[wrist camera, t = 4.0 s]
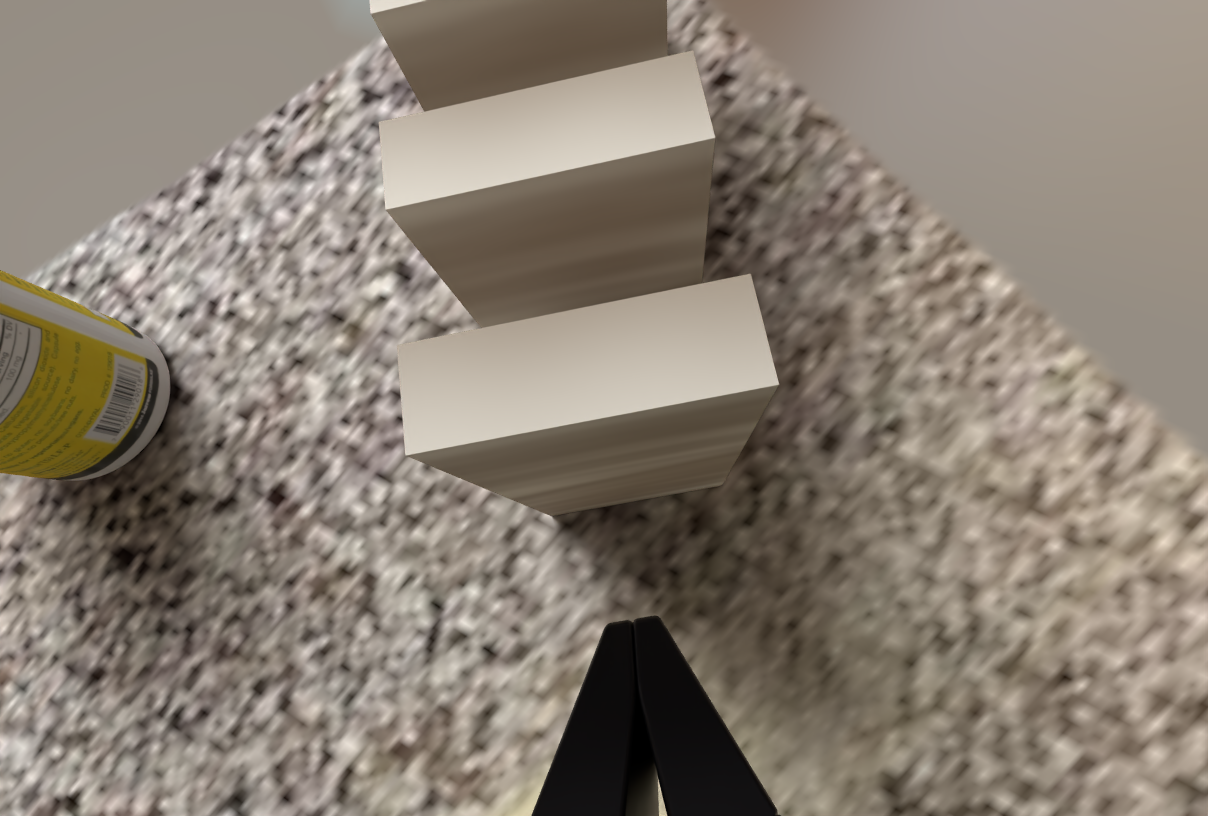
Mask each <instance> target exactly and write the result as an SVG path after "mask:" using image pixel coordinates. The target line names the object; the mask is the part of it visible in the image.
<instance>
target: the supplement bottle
mask: <svg viewBox="0 0 1208 816" xmlns="http://www.w3.org/2000/svg"><path fill="white" fill-rule="evenodd" d="M169 398H170V375H169V370H168V366H167V363H166V360H165V358H164V356H163V354H162V352H161V351H160V349H159V348H158V346H157V345H156V344H155V343H154V342H153V341H152V340H151V339H150V338H149V337H148V336H146V335H145V334H143V333H142V332H140V331H139V330H137V329H135V328H133V327H131V326H128V325H126V324H124V323H122V322H120V321H118V320H116V319H113V318H111V317H109V316H106V315H104V314H102V313H99V312H97V311H95V310H92V309H90V308H88V307H85V306H83V305H81V304H78V303H76V302H74V301H71V300H69V299H67V298H64V297H62V296H60V295H57V294H55V293H53V292H50V291H48V290H46V289H43V288H41V287H39V286H36V285H34V284H32V283H29V282H27V281H25V280H22V279H20V278H17V277H15V276H13V275H10V274H8V273H6V272H3V271H1V270H0V473H5V474H13V475H22V476H29V477H37V478H46V479H56V480H67V481H77V480H86V479H92V478H96V477H100V476H102V475H105V474H108V473H110V472H112V471H114V470H116V469H118V468H120V467H121V466H123V465H125V464H126V463H127V462H129V461H130V460H131V459H133V458H134V457H135V456H136V455H137V454H139V453H140V452H141V451H142V450H143V449H144V448H145V447H146V445H147V444H148V443H149V442H150V440H151V439H152V438H153V436H154V435H155V433H156V432H157V430H158V428H159V426H160V424H161V422H162V420H163V418H164V415H165V413H166V410H167V407H168V403H169Z"/></svg>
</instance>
